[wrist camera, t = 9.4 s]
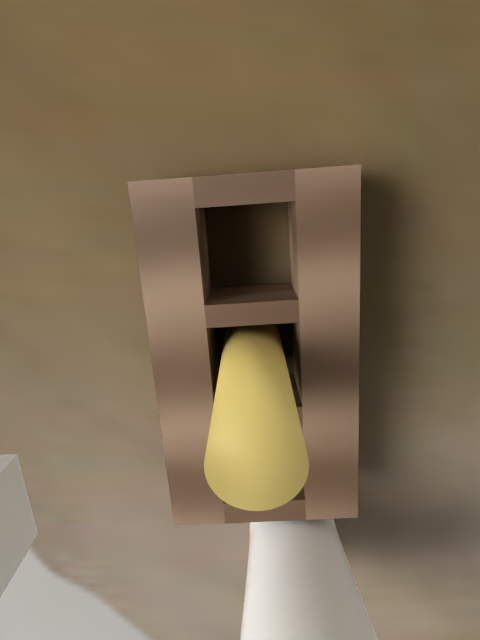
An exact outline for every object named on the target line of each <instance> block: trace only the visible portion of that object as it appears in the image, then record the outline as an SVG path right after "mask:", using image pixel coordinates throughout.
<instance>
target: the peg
mask: <svg viewBox="0 0 480 640" xmlns="http://www.w3.org/2000/svg"><path fill="white" fill-rule="evenodd" d="M204 472H205V476H206V480H207V482H208V484H209V486H210V488H211V489H212V490H213V492H214V493H215V494H216V495H217V496H218V497H219V498H220V499H221V500H223V501H224V502H226V503H227V504H229V505H231V506H233V507H236V508H239V509H242V510H248V511H265V510H271V509H274V508H277V507H280V506H282V505H284V504H286V503H287V502H289V501H290V500H292V499H293V498H294V497H295V496H296V495H297V494H298V493H299V492H300V491H301V489H302V488H303V486H304V484H305V482H306V480H307V477H308V472H309V460H308V455H307V450H306V446H305V442H304V437H303V433H302V429H301V424H300V420H299V416H298V411H297V407H296V403H295V398H294V394H293V390H292V385H291V381H290V377H289V372H288V368H287V364H286V359H285V355H284V351H283V346H282V342H281V338H280V334H279V330H278V328H277V326H276V325H275V324H265V325H249V326H233V327H228V328H227V330H226V333H225V338H224V344H223V350H222V356H221V362H220V368H219V374H218V380H217V386H216V392H215V399H214V405H213V411H212V417H211V423H210V429H209V435H208V441H207V447H206V453H205V459H204Z"/></svg>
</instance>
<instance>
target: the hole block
mask: <svg viewBox="0 0 480 640" xmlns="http://www.w3.org/2000/svg"><path fill="white" fill-rule="evenodd" d="M127 183H128V190H129V197H130V205H131V212H132V219H133V227H134V234H135V241H136V249H137V256H138V263H139V271H140V278H141V285H142V293H143V300H144V307H145V315H146V322H147V329H148V337H149V344H150V351H151V359H152V366H153V373H154V380H155V388H156V395H157V402H158V410H159V417H160V424H161V432H162V439H163V446H164V454H165V461H166V468H167V476H168V483H169V490H170V498H171V505H172V512H173V520H174V526H178V525H201V524H224V523H247V522H270V521H293V520H315V519H338V518H358V458H359V347H360V235H361V164H359V165H346V166H332V167H319V168H306V169H292V170H279V171H265V172H252V173H239V174H225V175H212V176H198V177H185V178H172V179H158V180H145V181H131V182H127ZM275 202H288V225H289V252H290V279H291V283H278V284H263V285H248V286H232V287H217V288H211V278H210V267H209V256H208V245H207V234H206V223H205V211H204V208H205V207H219V206H233V205H247V204H261V203H275ZM282 323H292V333H293V360H294V375H289V377H290V381H291V385H292V390H293V394H294V398H295V403H296V407H297V411H298V416H299V420H300V424H301V429H302V433H303V437H304V442H305V446H306V450H307V455H308V460H309V472H308V477H307V480H306V482H305V484H304V486H303V488H302V489H301V491H300V492H299V493H298V494H297V495H296V496H295V497H294V498H293V499H292V500H290V501H289V502H287V503H286V504H284V505H282V506H280V507H277V508H274V509H271V510H265V511H248V510H242V509H239V508H236V507H233V506H231V505H229V504H227V503H226V502H224V501H223V500H221V499H220V498H219V497H218V496H217V495H216V494H215V493H214V492H213V490H212V489H211V488H210V486H209V484H208V482H207V480H206V476H205V472H204V459H205V453H206V447H207V441H208V435H209V429H210V423H211V417H212V411H213V405H214V399H215V392H216V386H217V380H218V374H219V367H218V356H217V345H216V334H215V328H216V327H233V326H249V325H265V324H282Z"/></svg>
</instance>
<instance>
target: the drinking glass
mask: <svg viewBox="0 0 480 640" xmlns="http://www.w3.org/2000/svg"><path fill="white" fill-rule="evenodd" d="M240 640H378V637H377V635H376V632H375V629H374V627H373V624H372V622H371V619H370V617H369V614H368V611H367V609H366V606H365V604H364V601H363V598H362V596H361V593H360V591H359V588H358V585H357V583H356V580H355V578H354V575H353V572H352V570H351V567H350V564H349V562H348V559H347V557H346V554H345V551H344V549H343V546H342V543H341V540H340V538H339V535H338V532H337V529H336V525H335V521H334V519H315V520H293V521H270V522H250V544H249V555H248V566H247V576H246V586H245V596H244V606H243V616H242V625H241V635H240Z"/></svg>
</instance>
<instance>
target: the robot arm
mask: <svg viewBox="0 0 480 640" xmlns="http://www.w3.org/2000/svg"><path fill="white" fill-rule="evenodd" d="M37 535H38V532H37V528H36V524H35V521H34V517H33V513H32V509H31V506H30V502H29V498H28V494H27V490H26V487H25V483H24V479H23V475H22V472H21V468H20V464H19V460H18V456H17V454H9V455H0V597H1V595H2V594H3V592H4V590H5V588H6V587H7V585H8V583H9V582H10V580H11V578H12V577H13V575H14V573H15V572H16V570H17V568H18V567H19V565H20V563H21V562H22V560H23V558H24V557H25V555H26V553H27V552H28V550H29V548H30V547H31V545H32V543H33V542H34V540H35V538H36V537H37Z"/></svg>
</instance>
